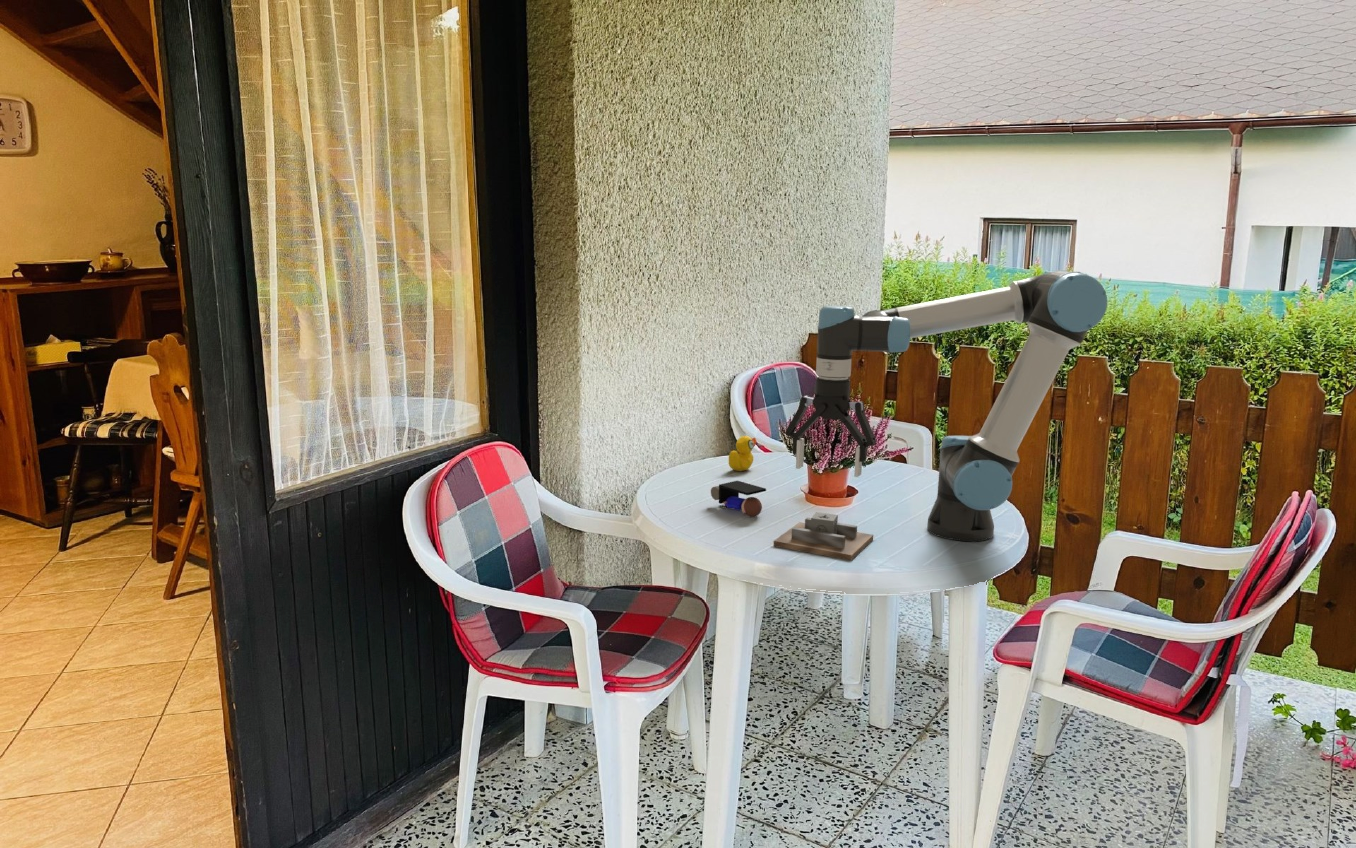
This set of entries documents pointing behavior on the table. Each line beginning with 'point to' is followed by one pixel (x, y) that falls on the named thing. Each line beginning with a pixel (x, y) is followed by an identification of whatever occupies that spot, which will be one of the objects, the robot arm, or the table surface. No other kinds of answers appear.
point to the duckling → (742, 454)
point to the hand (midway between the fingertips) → (828, 471)
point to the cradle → (825, 540)
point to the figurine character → (730, 497)
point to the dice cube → (824, 522)
